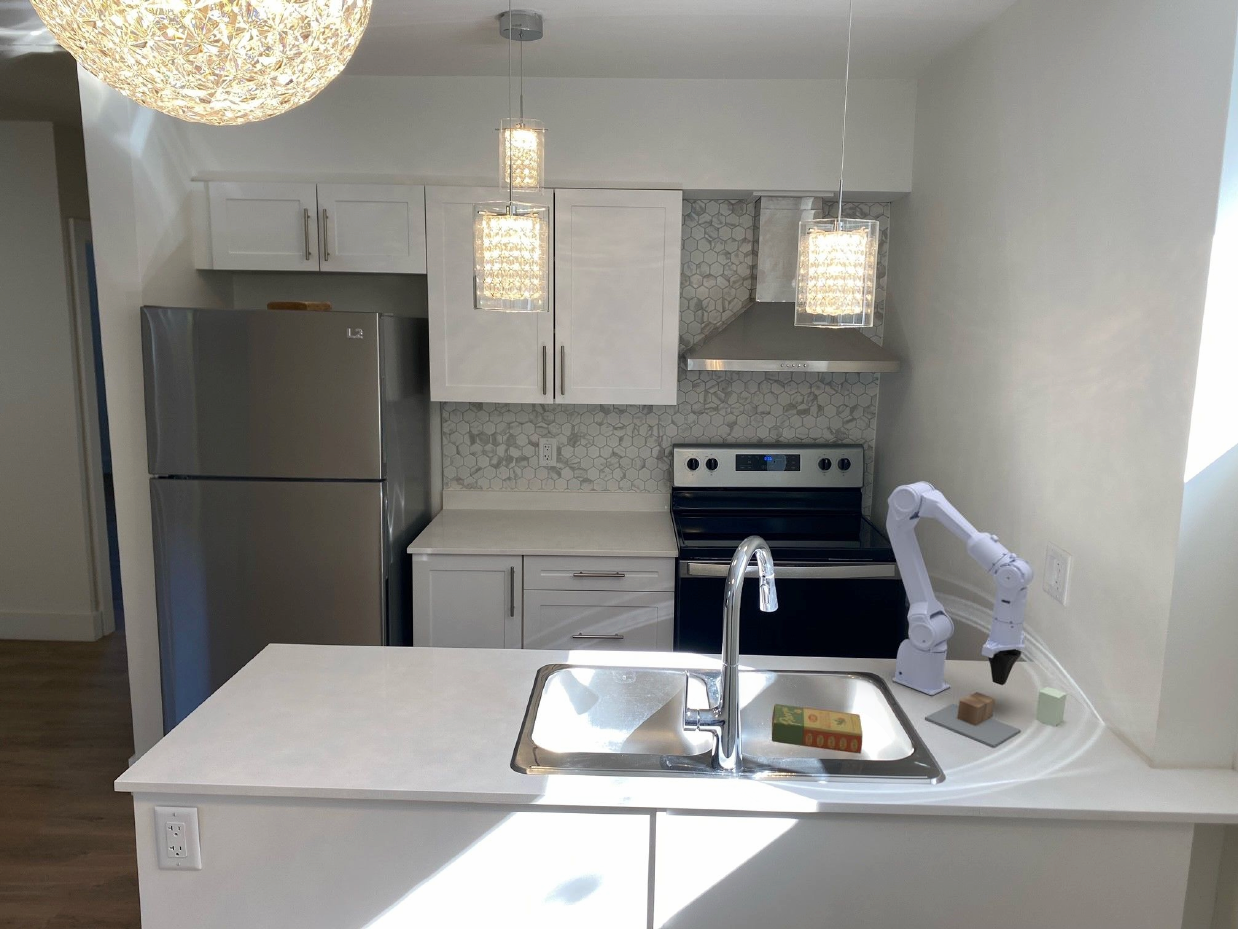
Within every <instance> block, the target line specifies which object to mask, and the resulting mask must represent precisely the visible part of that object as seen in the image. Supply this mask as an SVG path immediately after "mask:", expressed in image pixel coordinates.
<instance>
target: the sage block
mask: <svg viewBox="0 0 1238 929" xmlns="http://www.w3.org/2000/svg"><path fill="white" fill-rule="evenodd" d="M1067 695H1068V694H1067V692H1064V691H1061V690H1058V689H1055V688H1052V687H1048V686H1046V687H1044V688H1042V689H1041V690H1039V691H1038V697H1037V704H1036V712H1035V718H1034V719H1035V720H1036V721H1039V722H1041V723H1044V724H1047V725H1050V726H1053V727H1057V725H1060V724H1061V723H1062V722H1063V720H1064V713H1065V706H1066V703H1067Z"/></svg>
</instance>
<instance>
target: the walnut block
mask: <svg viewBox="0 0 1238 929" xmlns="http://www.w3.org/2000/svg"><path fill="white" fill-rule="evenodd" d="M995 700H996V698H994V697H991V696H989V695H987V694H983V693H981V692H977V691H975V692H974V693H972V694H970V695H967V696H966V697H964V698H962V699H959V703H958V706H959V709H958V716H957V719H960V720H962V721H965V722H967V723H970V724H972V725H975V726H976V725H978V724H980V723H982V722H984V721H986V720H987V719H989V718H993V716H994V709H995Z"/></svg>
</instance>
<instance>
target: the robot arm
mask: <svg viewBox="0 0 1238 929" xmlns="http://www.w3.org/2000/svg"><path fill="white" fill-rule="evenodd" d="M887 503H888V511H887V516H886V524H885V526H886V527H885V528H886V531H887V535H888V538H889V541H890V544H891V547H892V551H893V553H894V558H895V559H896V560H895V561H896V563H897V568H898V570H899V574H900V577H901V580H902V582H903V583H902V584H903V586H904V589H905V592H906V596H907V599H908V602H909V610H908V614H907V621H908V638H907V639H904V640H903V641H902V642H901V643H900V645H899V648H898V650H897V655H896V663H895V670H894V671H895V673H894V677H893V678H892V681H893V682H895V683H899V684H901V685H904V686H906V687H909V688H912V689H914V690H917V691H919V692H921V693H925V694H926V695H929V696H934V695H936V694H939V693H941V692H943V691H945V690H947V689H949V688H951V684H949V683H946V682H944V674H945V667H946V659H947V651H948V645H947V641H948V640H949V639H950V638H951V637H952V635H953V634H954V630H955V626H954V622H953V620H952V619H951V617H950V616H949V615H948V614H947V613H946V611H945V608H944V605H943V604H942V603H941V602H939V600H938V599H937V598H936V595H935V592H934V590H933V587H932V584H931V580H930V577H929V574H928V571H927V567H926V565H925V561H924V558H923V556H922V551H921V548H920V545H919V542H918V539H917V536H916V532H915V527H916V525H917V523H918V522H919V520H920V519H921V517H922V518H929V519H930V518H931V519H935V520H938V521H939V522H940V523H941V524H942V525H943V526H945V527H946V528H947V529H948V530H949V531H951V532H952V533H953V534H955V535H956V536H957V537H958V538H959V539H960V540H962V541H963V542H964V543H965V544H966V550H967V551H966V552H967V554H968V555H969V556H971V557H972V558H973V559H974V560H975V561H976V562H977V563H978V564H979V565H980V566H981V567H982V568H983V569H985V571H987V572H988V573H989V574H990V575H991V576H993V577H992V578H993V582H994V584H995V586H996V592H995V596H994V602H993V603H994V605H993V611H992V612H993V613H992V617H991V624H990V625H991V626H990V633H989V635H988V638H987V639H986V642H985V643H984V644H983V645H982V649H981V655H982V656H985V657H987V659H988V662H989V666H990V673H991V679H992V683H994V684H998V685H1000V686H1003V685H1006V683H1007V681H1008V678H1009V676H1010V674H1011V671H1012V669H1013V667H1014V665H1015V664H1016V661H1018V659H1019V658H1020V657H1021V656H1022V651H1024V650H1025V649H1026V646H1027V645H1026V644H1025V642H1026V634H1025V633H1022V632H1023V625H1024V619H1025V612H1026V605H1027V595H1028V587H1027V586H1029V585H1030V584H1031V583H1032V581H1033V580H1034V574H1035V573H1034V569H1033V567H1032V566H1031V564H1029V562H1028V561H1027V560H1026V559H1023V558H1020V557H1018V556H1017V554H1015V553H1014V552H1013V553H1011V552H1010V551H1009V550H1008V549H1007V548H1006V547H1004V545H1003V544H1001V543H1000V542H999V537H998V536H997V535H995V534H993V535H991V534H990V533H989V532H979V531H978V530H977V529H976V528H975V527H974V526H973V525H972V524H971V523H970V522H969V521H968V520H967V519H966V518H965V517H964V516H963V515H962V514H961V513H960V512H959V511H958V510H957V508H955V507H954V506H953V505H952V504H951V503H950V502H949V501H948V500H947V498H946V497H945V496H944V494H943V493H942V492H941V491H940V490H938V489H935V487H934V485H932V484H931V483H929V482H927V481H923V480H922V481H917V482H914V483H911V484H903V485H900V486H897V487H896V488H895V489H894V490H893V492H891V494H890V496H889V497H888V498H887Z"/></svg>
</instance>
